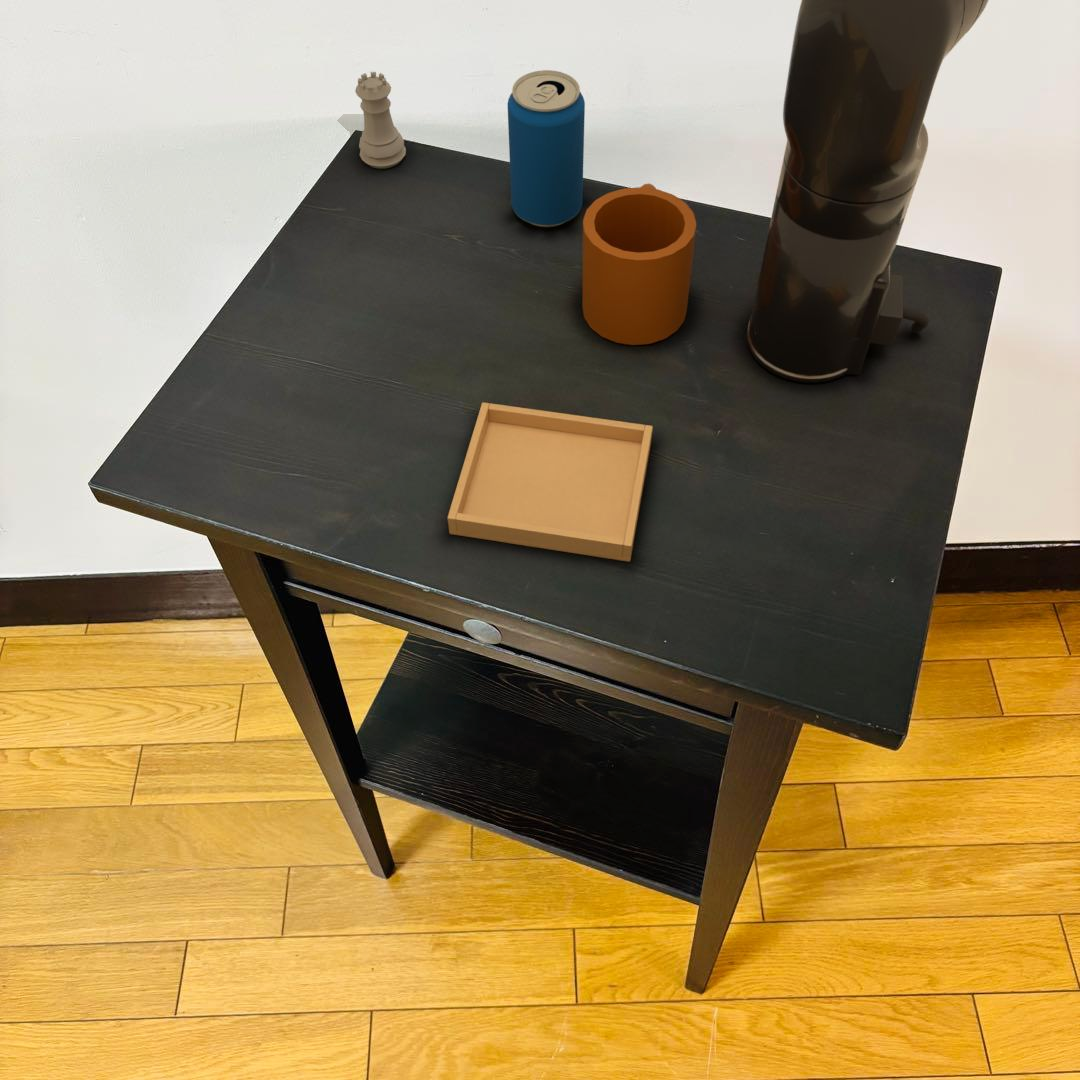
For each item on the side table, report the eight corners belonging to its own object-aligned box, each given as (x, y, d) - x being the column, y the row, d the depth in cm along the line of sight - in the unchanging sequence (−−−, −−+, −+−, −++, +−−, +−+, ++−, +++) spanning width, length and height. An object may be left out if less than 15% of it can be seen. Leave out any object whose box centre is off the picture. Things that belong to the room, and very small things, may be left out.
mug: (711, 266, 93) (724, 178, 86) (667, 358, 87) (677, 272, 79) (614, 241, 95) (619, 153, 88) (565, 329, 89) (565, 242, 81)
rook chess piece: (399, 173, 101) (388, 96, 94) (354, 167, 101) (340, 91, 95) (412, 145, 103) (402, 68, 97) (367, 140, 104) (355, 63, 97)
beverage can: (595, 202, 98) (599, 81, 88) (558, 241, 95) (558, 121, 85) (536, 179, 100) (534, 59, 90) (498, 216, 97) (491, 96, 87)
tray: (651, 442, 82) (653, 425, 80) (630, 562, 75) (631, 546, 74) (483, 419, 83) (482, 401, 82) (449, 534, 77) (447, 517, 75)
